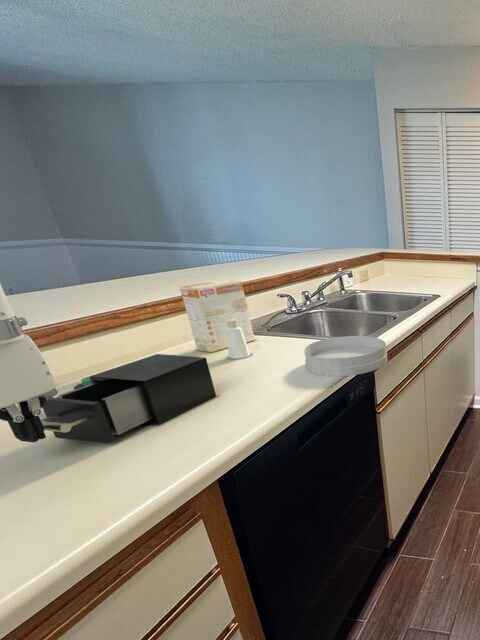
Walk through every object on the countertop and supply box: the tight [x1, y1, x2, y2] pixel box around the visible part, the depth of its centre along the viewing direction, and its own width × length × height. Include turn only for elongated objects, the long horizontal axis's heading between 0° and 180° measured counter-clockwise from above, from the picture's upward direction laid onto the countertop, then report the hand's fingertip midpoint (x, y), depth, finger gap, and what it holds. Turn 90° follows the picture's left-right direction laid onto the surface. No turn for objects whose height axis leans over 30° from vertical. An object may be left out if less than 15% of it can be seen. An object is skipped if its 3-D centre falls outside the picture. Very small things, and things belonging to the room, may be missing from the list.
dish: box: [303, 335, 388, 377], centre depth 121 cm, size 22×22×5 cm
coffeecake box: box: [179, 279, 256, 353], centre depth 132 cm, size 15×7×20 cm, turn 157°
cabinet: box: [88, 353, 217, 426], centre depth 91 cm, size 15×13×10 cm
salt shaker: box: [226, 319, 251, 360], centre depth 123 cm, size 5×5×11 cm
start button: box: [80, 376, 92, 387], centre depth 94 cm, size 4×4×2 cm
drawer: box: [40, 381, 154, 444], centre depth 80 cm, size 18×11×8 cm, turn 171°
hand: (33, 439), depth 70 cm, fingers closed
